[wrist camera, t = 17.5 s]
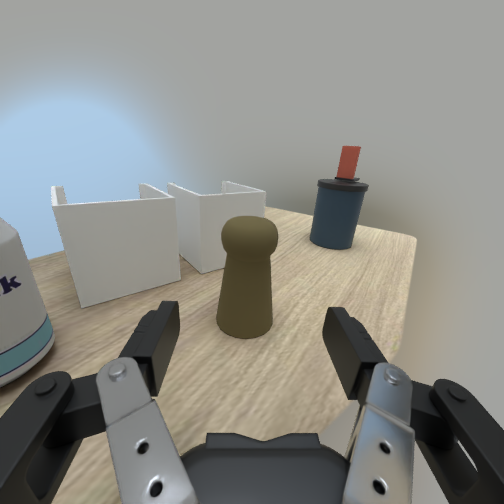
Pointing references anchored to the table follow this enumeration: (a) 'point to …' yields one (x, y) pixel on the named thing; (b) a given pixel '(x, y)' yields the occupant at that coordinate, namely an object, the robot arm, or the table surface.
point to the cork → (247, 276)
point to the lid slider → (348, 163)
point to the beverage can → (20, 311)
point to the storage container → (147, 237)
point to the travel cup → (336, 213)
